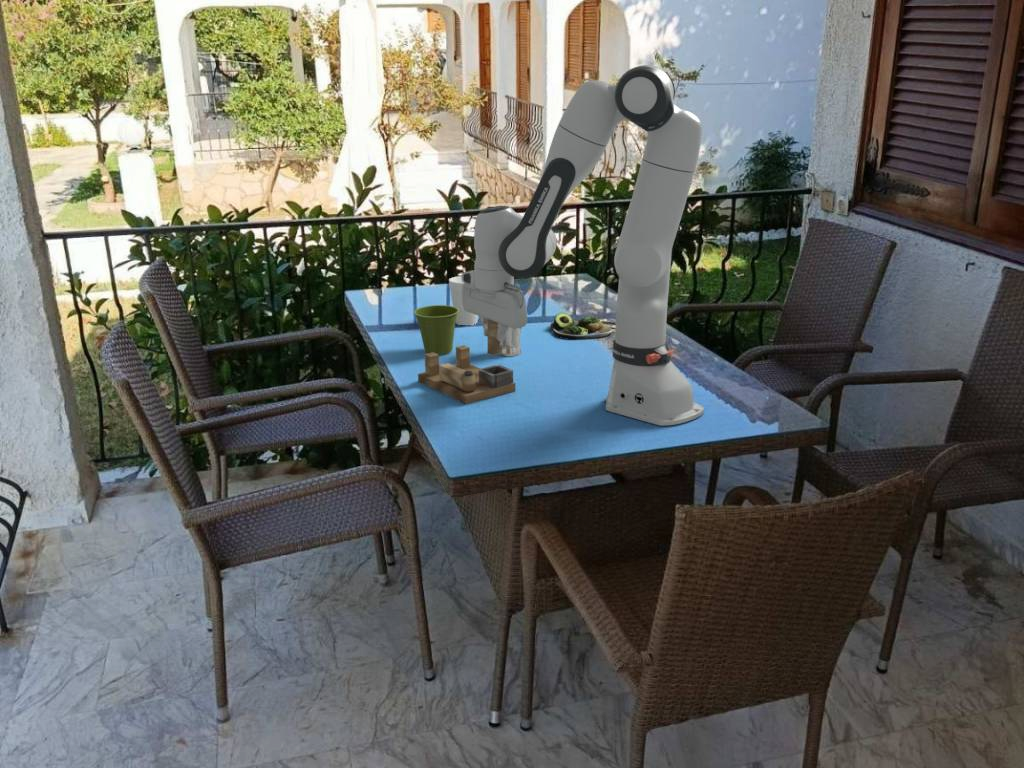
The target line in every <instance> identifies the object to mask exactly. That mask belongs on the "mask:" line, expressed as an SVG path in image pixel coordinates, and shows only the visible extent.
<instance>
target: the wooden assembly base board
mask: <svg viewBox="0 0 1024 768" xmlns="http://www.w3.org/2000/svg"><path fill="white" fill-rule="evenodd" d="M439 355H440V354H436V353H434V352H432V353H428V354H427V353H424V369H425V370H424V372H420V373H418V374H417V379H418V380H417V382H418V383H421V384H423V385H424V386H427V387H428V388H431V389H433V390H435V391H436V392H440V393H441V394H443V395H445V394H446V395H445V396H447V395H448V396H447V397H449V396H450V397H449V398H451V397H452V398H451V399H453V398H454V400H455V401H458V400H459V401H458V402H460V401H461V402H460V403H462V402H463V404H464V403H465V404H464V405H466V404H467V405H470V404H469V403H471V404H474V403H478V402H481V400H482V401H485V400H489V399H492V398H496V397H499V396H498V395H500V396H503V395H507V394H510V392H511V393H514V392H516V382H514V370H513V369H511V368H508V367H506V366H503V365H502V364H498V365H497V364H495V365H491V366H487V367H482V368H480V367H478V366H476V365H473V364H471V352H470V347H469V346H467V345H464V344H462V345H459V346H455V361H456V362H455V364H452V365H453V366H456V367H458V368H461V369H463V370H465V371H472V373H474V374H475V390H474V391H470V392H467V391H463V390H462V389H460V388H458V387H456V386H453V385H451V384H449V383H447V382H445V381H442V380H440V377H439V365H440V356H439ZM513 391H514V392H513ZM502 394H503V395H502ZM495 396H496V397H495ZM488 398H489V399H488ZM477 401H478V402H477ZM473 402H474V403H473Z"/></svg>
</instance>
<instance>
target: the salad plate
mask: <svg viewBox="0 0 1024 768" xmlns="http://www.w3.org/2000/svg"><path fill="white" fill-rule="evenodd" d="M597 317H598V316H594V317H593V316H588V315H587V316H586V317H582V318H581V319H579V318H573V317H572V316H571V315H570V314H568V313H565V312H558V313H557V314H556V315H555V316H554V320H553V321H552V322H551V323H550V329H551V332H552V331H553V332H552V333H553V335H554V334H555V335H554V336H556V337H557V336H558V338H560V337H562V338H561V339H564V338H568V340H583V338H588V339H596V337H597V338H603V337H607V336H609V335H610V334H612V333H613V329H612V328H611V327H613V326H616V321H606V320H602V319H603V318H602V317H601V318H599V319H598V318H597ZM596 331H599V332H598V333H597V332H596ZM589 332H591V333H597V334H590V333H589ZM600 332H601V333H600ZM587 333H588V334H587Z"/></svg>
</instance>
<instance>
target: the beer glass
mask: <svg viewBox="0 0 1024 768" xmlns="http://www.w3.org/2000/svg"><path fill="white" fill-rule="evenodd" d="M521 332H522V327H521V328H515V329H514V328H511V327H508V329H507V331H506V333H505V340H504V341H501V354H499V355H500V356H503V357H517V356H520V355H521V354H522V348H521Z"/></svg>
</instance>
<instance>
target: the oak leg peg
mask: <svg viewBox="0 0 1024 768" xmlns="http://www.w3.org/2000/svg"><path fill="white" fill-rule="evenodd" d="M498 330H499V327H498V323H497V322H494V321H492V320H489V319H487V335H488V337H487V355H488V356H498V355H500V354H501V341H498V340H496V339H495V333H497V332H498Z"/></svg>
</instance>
